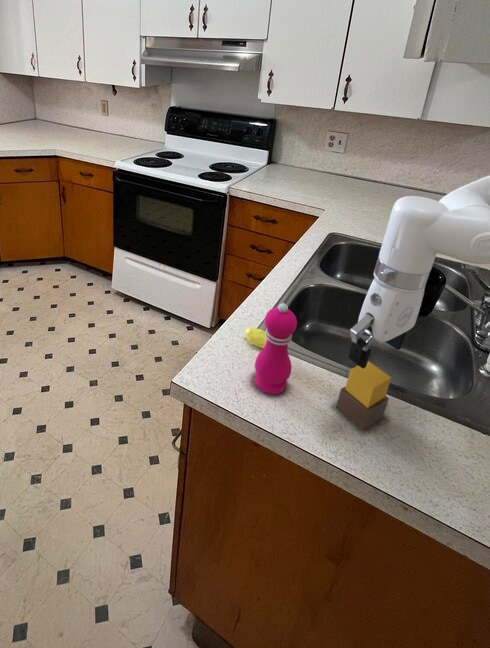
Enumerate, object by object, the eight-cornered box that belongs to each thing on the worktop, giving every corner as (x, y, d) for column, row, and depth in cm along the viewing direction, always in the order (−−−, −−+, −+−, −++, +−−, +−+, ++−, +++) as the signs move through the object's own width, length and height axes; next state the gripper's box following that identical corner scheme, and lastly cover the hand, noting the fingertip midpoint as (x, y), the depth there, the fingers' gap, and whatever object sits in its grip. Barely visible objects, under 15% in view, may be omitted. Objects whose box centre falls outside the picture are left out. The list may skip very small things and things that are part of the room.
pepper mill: (245, 376, 90) (256, 298, 81) (272, 366, 93) (285, 289, 84) (267, 401, 84) (281, 320, 75) (295, 389, 87) (312, 309, 78)
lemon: (270, 357, 95) (272, 344, 93) (240, 340, 100) (242, 327, 98) (279, 348, 98) (282, 335, 96) (250, 332, 103) (252, 319, 101)
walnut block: (356, 395, 86) (361, 377, 84) (382, 417, 81) (389, 398, 79) (335, 407, 83) (340, 388, 81) (362, 430, 78) (368, 411, 76)
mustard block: (361, 379, 83) (367, 360, 81) (384, 397, 79) (391, 377, 77) (344, 389, 81) (350, 369, 79) (367, 408, 77) (374, 387, 75)
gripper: (388, 298, 62) (361, 385, 69) (454, 270, 70) (423, 350, 77) (345, 274, 67) (324, 356, 75) (410, 250, 75) (385, 327, 83)
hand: (374, 353), depth 76 cm, fingers open, 9 cm apart
